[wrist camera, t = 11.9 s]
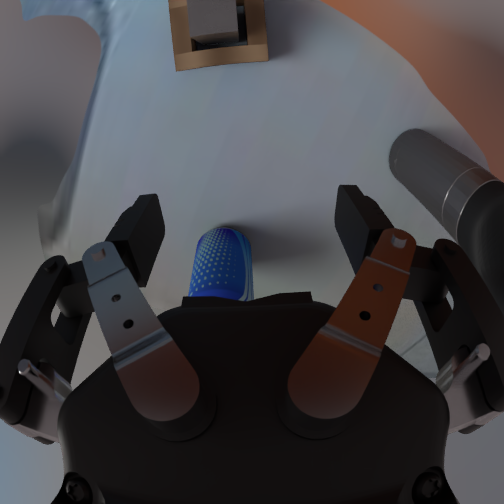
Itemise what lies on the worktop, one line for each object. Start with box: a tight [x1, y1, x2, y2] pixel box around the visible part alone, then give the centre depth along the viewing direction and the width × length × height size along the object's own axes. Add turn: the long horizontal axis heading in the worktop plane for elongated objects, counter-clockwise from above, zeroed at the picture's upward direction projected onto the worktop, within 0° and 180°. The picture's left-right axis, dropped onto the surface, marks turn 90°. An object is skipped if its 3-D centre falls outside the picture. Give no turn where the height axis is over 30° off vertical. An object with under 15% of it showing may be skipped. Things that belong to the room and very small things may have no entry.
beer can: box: [188, 227, 254, 301], centre depth 38 cm, size 8×8×16 cm
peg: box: [187, 0, 239, 46], centre depth 20 cm, size 4×4×11 cm
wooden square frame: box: [168, 0, 269, 71], centre depth 23 cm, size 10×10×4 cm
